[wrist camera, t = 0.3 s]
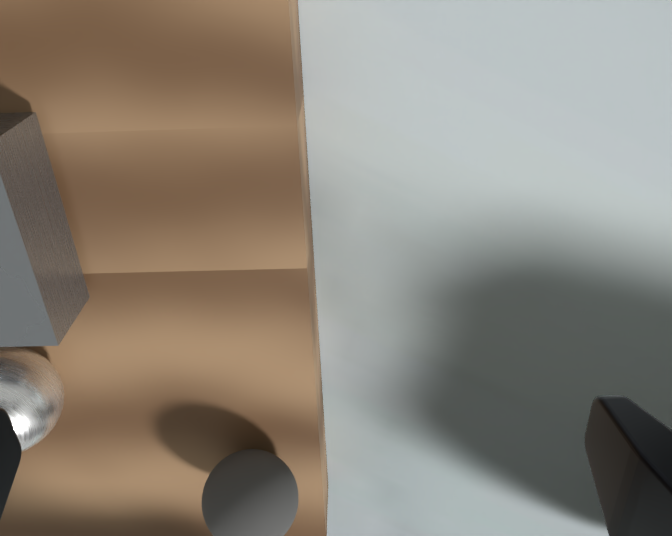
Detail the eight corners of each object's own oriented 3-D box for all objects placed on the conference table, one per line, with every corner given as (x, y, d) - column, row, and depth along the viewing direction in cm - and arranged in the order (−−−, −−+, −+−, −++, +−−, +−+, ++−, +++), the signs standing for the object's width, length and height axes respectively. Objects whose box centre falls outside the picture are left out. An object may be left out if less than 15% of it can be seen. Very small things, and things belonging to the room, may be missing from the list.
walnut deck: (328, 484, 29) (326, 541, 26) (-87, 489, 29) (-128, 546, 27) (295, -34, 18) (286, -22, 15) (-376, -7, 18) (-496, 7, 16)
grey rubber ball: (304, 490, 25) (298, 572, 22) (217, 491, 25) (200, 573, 22) (298, 428, 23) (291, 507, 20) (205, 429, 23) (184, 509, 20)
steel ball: (90, 401, 22) (50, 479, 19) (-4, 403, 22) (-58, 480, 19) (65, 323, 21) (17, 396, 18) (-38, 326, 21) (-103, 398, 18)
